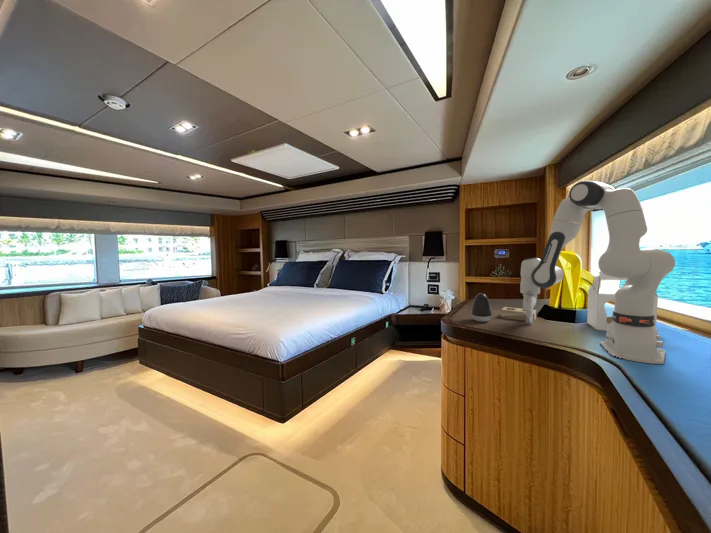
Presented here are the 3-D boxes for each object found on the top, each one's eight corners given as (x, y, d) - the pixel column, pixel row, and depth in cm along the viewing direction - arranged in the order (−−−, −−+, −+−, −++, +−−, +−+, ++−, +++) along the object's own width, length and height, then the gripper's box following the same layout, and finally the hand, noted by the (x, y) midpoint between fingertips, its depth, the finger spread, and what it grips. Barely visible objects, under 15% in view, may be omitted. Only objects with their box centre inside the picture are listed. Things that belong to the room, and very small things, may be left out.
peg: (532, 325, 153) (532, 305, 152) (525, 324, 155) (525, 305, 154) (532, 323, 155) (533, 304, 154) (526, 323, 157) (526, 304, 156)
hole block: (534, 321, 159) (534, 313, 159) (501, 317, 169) (501, 309, 168) (536, 318, 166) (536, 310, 166) (504, 314, 176) (504, 306, 176)
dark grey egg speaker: (471, 322, 160) (472, 294, 159) (470, 318, 170) (470, 291, 169) (492, 323, 157) (493, 295, 156) (490, 319, 167) (490, 291, 166)
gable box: (642, 326, 147) (645, 269, 144) (656, 334, 134) (660, 272, 132) (586, 323, 155) (588, 268, 153) (595, 330, 143) (597, 271, 141)
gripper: (534, 293, 143) (534, 321, 144) (539, 287, 160) (538, 313, 161) (519, 292, 147) (519, 319, 148) (525, 286, 163) (525, 311, 165)
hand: (529, 316), depth 155 cm, fingers closed on peg, 3 cm apart
